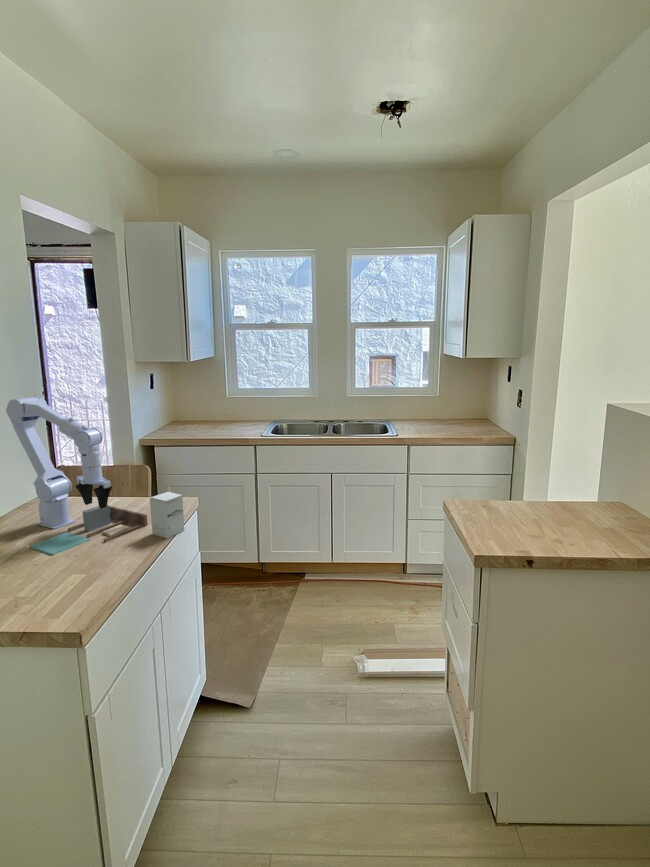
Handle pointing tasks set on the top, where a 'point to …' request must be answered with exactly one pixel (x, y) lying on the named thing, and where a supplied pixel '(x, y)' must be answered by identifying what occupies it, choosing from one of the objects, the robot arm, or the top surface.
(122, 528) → the offcut top
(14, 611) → the top surface
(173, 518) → the supplement box
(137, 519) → the rack
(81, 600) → the top surface
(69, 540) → the mat
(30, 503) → the top surface
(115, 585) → the top surface
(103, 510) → the block
